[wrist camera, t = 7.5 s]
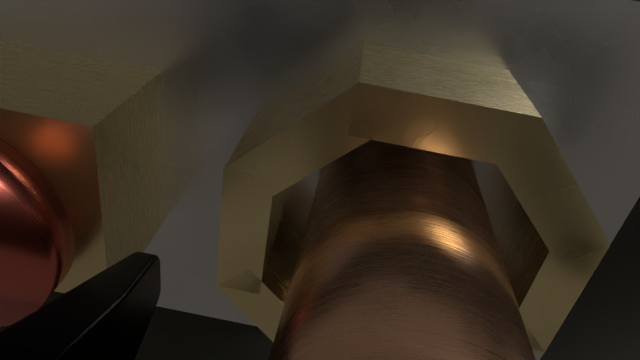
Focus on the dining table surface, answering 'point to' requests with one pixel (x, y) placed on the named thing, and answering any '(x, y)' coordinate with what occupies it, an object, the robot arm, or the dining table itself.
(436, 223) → the pipe stub
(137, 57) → the panel with octagonal sockets
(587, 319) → the dining table surface
